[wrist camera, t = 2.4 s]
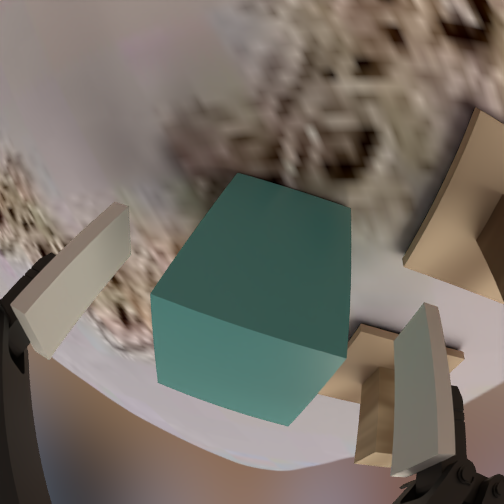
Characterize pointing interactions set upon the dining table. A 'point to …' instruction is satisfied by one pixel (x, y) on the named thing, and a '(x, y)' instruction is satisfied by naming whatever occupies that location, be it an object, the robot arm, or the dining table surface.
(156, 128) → the dining table surface
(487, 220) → the post
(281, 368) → the teal rectangular block
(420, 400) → the robot arm
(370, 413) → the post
